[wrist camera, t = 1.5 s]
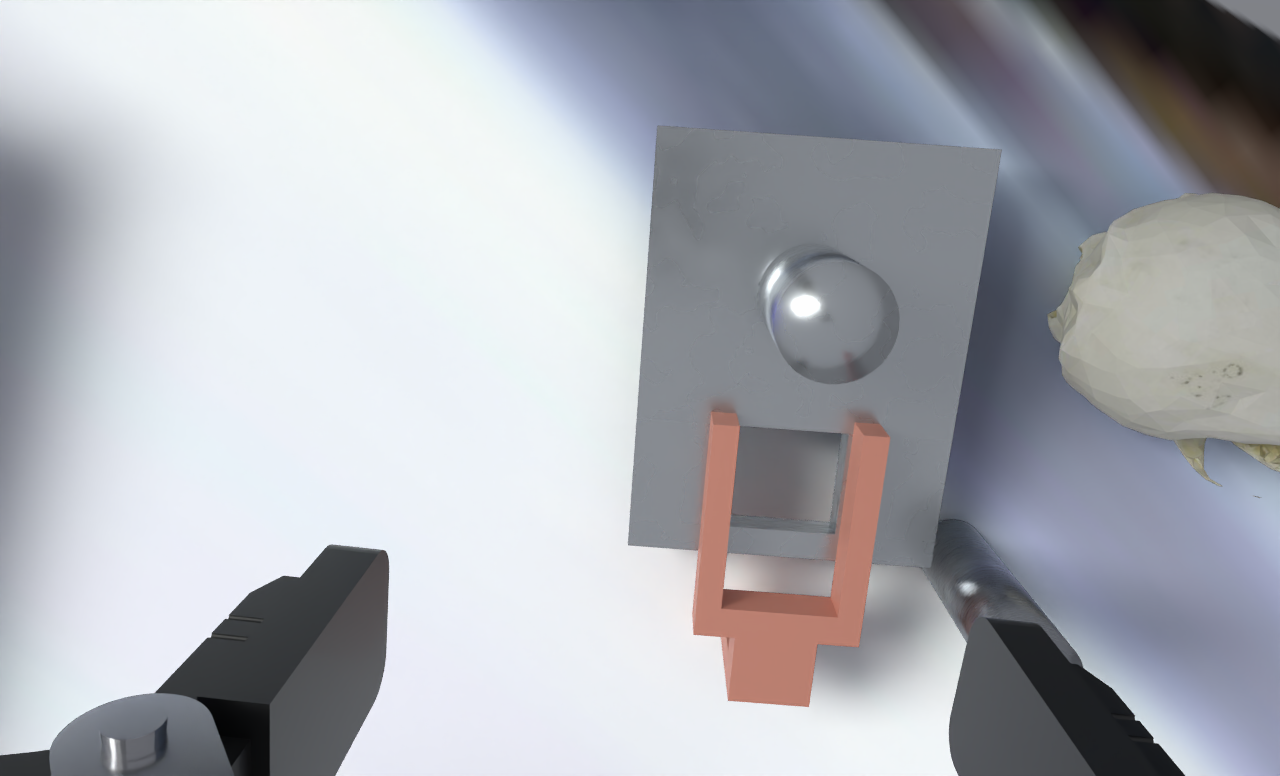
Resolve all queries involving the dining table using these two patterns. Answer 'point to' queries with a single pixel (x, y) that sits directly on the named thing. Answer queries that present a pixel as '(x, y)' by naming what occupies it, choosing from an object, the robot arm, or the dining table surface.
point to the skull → (1181, 324)
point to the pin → (982, 584)
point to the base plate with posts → (806, 321)
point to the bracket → (774, 622)
